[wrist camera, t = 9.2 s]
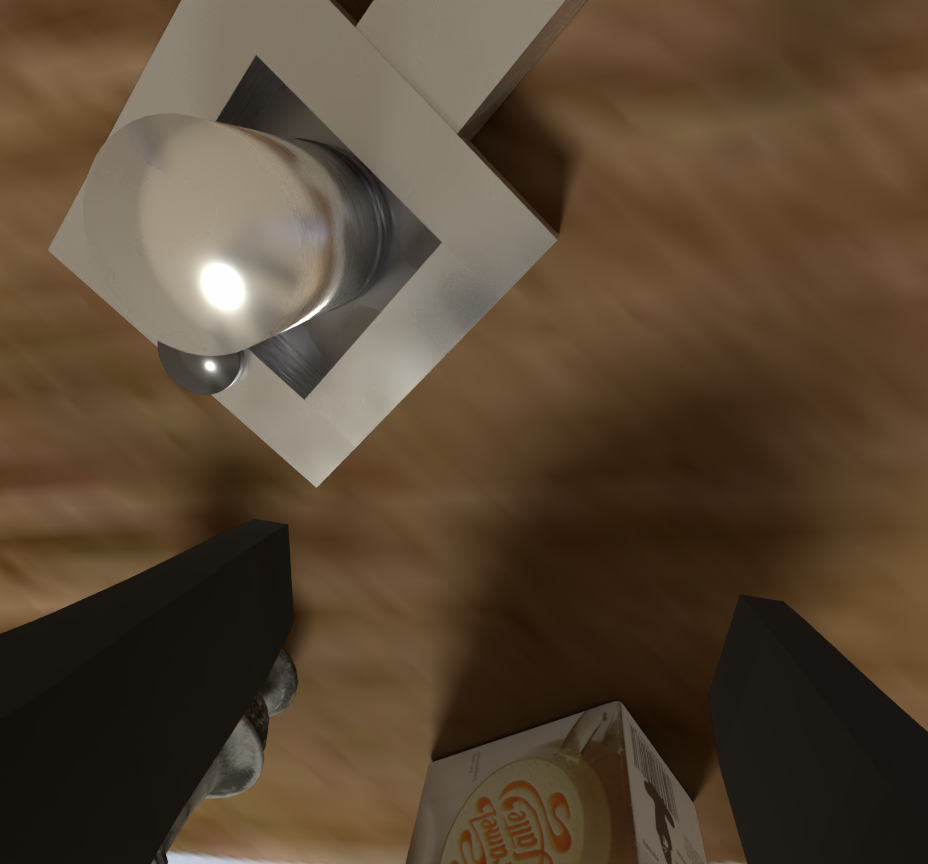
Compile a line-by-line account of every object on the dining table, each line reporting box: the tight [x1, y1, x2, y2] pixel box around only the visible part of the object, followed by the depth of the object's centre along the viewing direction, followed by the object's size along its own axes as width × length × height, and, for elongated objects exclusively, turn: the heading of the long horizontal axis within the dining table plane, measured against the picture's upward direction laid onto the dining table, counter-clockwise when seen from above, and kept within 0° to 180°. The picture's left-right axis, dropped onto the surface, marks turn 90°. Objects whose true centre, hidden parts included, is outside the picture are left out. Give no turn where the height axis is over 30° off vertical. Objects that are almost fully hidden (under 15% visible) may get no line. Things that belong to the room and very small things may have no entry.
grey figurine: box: [151, 648, 297, 864], centre depth 19 cm, size 6×6×12 cm
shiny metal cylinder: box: [83, 113, 391, 356], centre depth 14 cm, size 4×4×6 cm
